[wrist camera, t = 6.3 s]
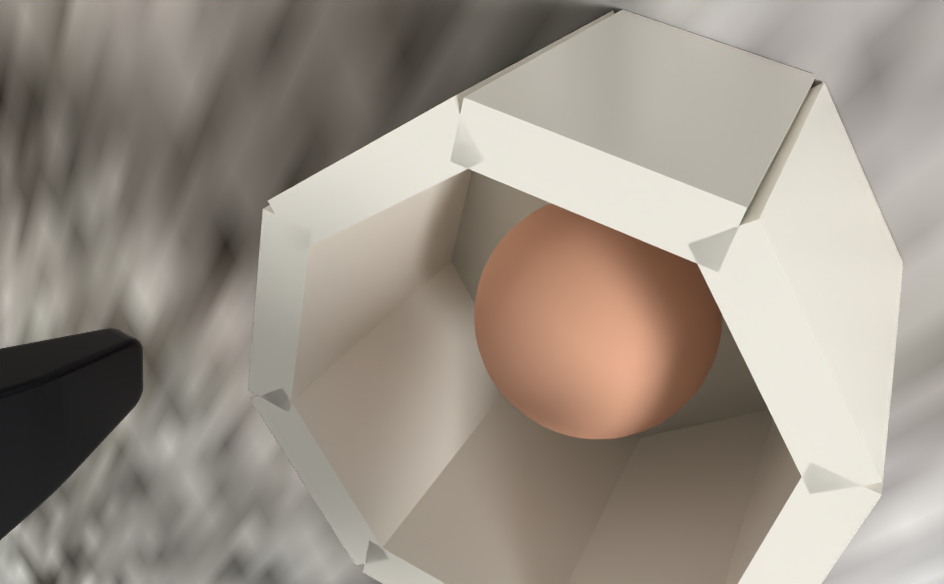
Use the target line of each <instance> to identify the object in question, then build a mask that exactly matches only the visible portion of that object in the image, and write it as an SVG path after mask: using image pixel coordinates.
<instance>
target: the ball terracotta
mask: <svg viewBox="0 0 944 584" xmlns="http://www.w3.org/2000/svg"><path fill="white" fill-rule="evenodd" d="M474 324H475V334H476V340H477V344H478V348H479V351H480V354H481V357H482V360H483V363H484V365H485V367H486V370H487V372H488V374H489V376H490V377H491V379H492V380H493V382H494V384H495V385H496V387H497V388H498V389H499V391H500V392H501V393H502V394H503V396H504V397H505V398H506V399H507V400H508V401H509V402H510V403H511V404H512V405H513V406H514V407H515V408H517V409H518V410H519V411H520V412H521V413H523V414H524V415H525V416H527V417H528V418H530V419H531V420H533V421H534V422H536V423H538V424H540V425H542V426H543V427H545V428H548V429H550V430H552V431H555V432H557V433H561V434H564V435H567V436H571V437H577V438H583V439H614V438H621V437H626V436H629V435H633V434H636V433H639V432H642V431H645V430H648V429H650V428H652V427H654V426H656V425H658V424H660V423H661V422H663V421H664V420H666V419H667V418H669V417H670V416H672V415H674V414H675V413H676V412H677V411H679V410H680V409H681V408H682V407H683V406H684V405H685V404H686V403H687V402H688V401H689V400H690V399H691V398H692V397H693V395H694V394H695V393H696V392H697V391H698V389H699V388H700V387H701V385H702V383H703V381H704V380H705V378H706V376H707V374H708V373H709V371H710V369H711V367H712V365H713V362H714V359H715V357H716V354H717V350H718V347H719V342H720V337H721V332H722V313H721V311H720V309H719V307H718V305H717V303H716V301H715V299H714V297H713V295H712V293H711V291H710V289H709V287H708V285H707V283H706V280H705V278H704V276H703V274H702V272H701V270H700V268H699V266H698V264H697V263H695V262H692V261H690V260H687V259H685V258H683V257H680V256H678V255H675V254H673V253H670V252H668V251H666V250H663V249H661V248H658V247H656V246H654V245H651V244H649V243H646V242H644V241H641V240H639V239H637V238H634V237H632V236H629V235H627V234H625V233H622V232H620V231H617V230H615V229H612V228H610V227H608V226H605V225H603V224H600V223H598V222H596V221H593V220H591V219H588V218H586V217H584V216H581V215H579V214H576V213H574V212H571V211H569V210H567V209H564V208H562V207H559V206H557V205H555V204H552V203H550V204H547V205H545V206H543V207H541V208H539V209H537V210H535V211H534V212H532V213H531V214H529V215H528V216H527V217H525V218H524V219H523V220H521V221H520V222H518V223H517V224H516V225H515V226H514V227H513V228H512V229H511V230H510V231H509V232H508V233H507V234H506V235H505V236H504V237H503V238H502V240H501V241H500V242H499V244H498V245H497V246H496V248H495V249H494V250H493V252H492V254H491V256H490V258H489V260H488V261H487V263H486V265H485V267H484V270H483V272H482V275H481V278H480V281H479V284H478V289H477V294H476V299H475V308H474Z"/></svg>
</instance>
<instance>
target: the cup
mask: <svg viewBox="0 0 944 584" xmlns="http://www.w3.org/2000/svg"><path fill="white" fill-rule="evenodd" d="M815 77H816V75H814V74H811V73H808V72H806V71H803V70H800V69H797V68H794V67H791V66H788V65H785V64H782V63H779V62H776V61H773V60H770V59H767V58H764V57H761V56H758V55H755V54H752V53H749V52H747V51H744V50H741V49H738V48H735V47H732V46H729V45H726V44H723V43H720V42H717V41H714V40H711V39H708V38H705V37H702V36H699V35H696V34H693V33H691V32H688V31H685V30H682V29H679V28H676V27H673V26H670V25H667V24H664V23H661V22H658V21H655V20H652V19H649V18H646V17H643V16H640V15H637V14H634V13H632V12H629V11H626V10H621V11H619V12H617V13H614V11H611V12H609V13H607V14H606V15H604V16H602V17H600V18H598V19H596V20H594V21H593V22H591V23H589V24H587V25H585V26H583V27H581V28H580V29H578V30H576V31H574V32H572V33H570V34H568V35H567V36H565V37H563V38H561V39H559V40H557V41H555V42H554V43H552V44H550V45H548V46H546V47H544V48H543V49H541V50H539V51H537V52H535V53H533V54H531V55H530V56H528V57H526V58H524V59H522V60H520V61H518V62H517V63H515V64H513V65H511V66H509V67H507V68H505V69H504V70H502V71H500V72H498V73H496V74H494V75H493V76H491V77H489V78H487V79H485V80H483V81H481V82H480V83H478V84H476V85H474V86H472V87H470V88H468V89H467V90H465V91H463V92H461V93H459V94H457V95H455V96H454V97H452V98H450V99H448V100H446V101H445V102H443V103H441V104H439V105H437V106H436V107H434V108H432V109H430V110H429V111H427V112H425V113H423V114H421V115H420V116H418V117H416V118H414V119H412V120H411V121H409V122H407V123H405V124H404V125H402V126H400V127H398V128H396V129H395V130H393V131H391V132H389V133H387V134H386V135H384V136H382V137H380V138H379V139H377V140H375V141H373V142H371V143H370V144H368V145H366V146H364V147H362V148H361V149H359V150H357V151H355V152H354V153H352V154H350V155H348V156H346V157H345V158H343V159H341V160H339V161H338V162H336V163H334V164H332V165H330V166H329V167H327V168H325V169H323V170H321V171H320V172H318V173H316V174H314V175H313V176H311V177H309V178H307V179H305V180H304V181H302V182H300V183H298V184H296V185H295V186H293V187H291V188H289V189H288V190H286V191H284V192H282V193H280V194H279V195H277V196H275V197H273V198H271V199H270V200H268V203H269V204H270V205H269V206H267V207H265V208H263V213H262V225H261V237H260V249H259V261H258V273H257V285H256V297H255V309H254V321H253V333H252V346H251V358H250V370H249V382H248V391H250V392H252V393H254V394H256V395H255V396H254V397H253V398H251V401H252V403H253V404H254V406H255V407H256V409H257V411H258V412H259V414H260V415H261V417H262V418H263V420H264V422H265V423H266V425H267V426H268V428H269V429H270V431H271V433H272V434H273V436H274V437H275V439H276V441H277V442H278V444H279V445H280V447H281V448H282V450H283V452H284V453H285V455H286V456H287V458H288V460H289V461H290V463H291V464H292V466H293V467H294V469H295V471H296V472H297V474H298V475H299V477H300V479H301V480H302V482H303V483H304V485H305V486H306V488H307V490H308V491H309V493H310V494H311V496H312V498H313V499H314V501H315V502H316V504H317V505H318V507H319V509H320V510H321V512H322V513H323V515H324V517H325V518H326V520H327V521H328V523H329V524H330V526H331V528H332V529H333V531H334V532H335V534H336V536H337V537H338V539H339V540H340V542H341V543H342V545H343V547H344V548H345V550H346V551H347V553H348V555H349V556H350V558H351V559H352V561H353V562H354V564H355V565H360V564H364V568H363V573H365V574H367V575H368V576H370V577H372V578H373V579H375V580H377V581H379V582H380V583H382V584H821V583H822V582H823V580H824V579H825V577H826V576H827V575H828V573H829V572H830V570H831V569H832V567H833V566H834V564H835V563H836V561H837V560H838V558H839V557H840V555H841V554H842V553H843V551H844V550H845V548H846V547H847V545H848V544H849V542H850V541H851V539H852V538H853V536H854V535H855V533H856V532H857V531H858V529H859V528H860V526H861V525H862V523H863V522H864V520H865V519H866V517H867V516H868V514H869V513H870V511H871V510H872V509H873V507H874V506H875V504H876V503H877V501H878V500H879V498H880V497H881V495H882V488H883V477H884V467H885V456H886V445H887V435H888V424H889V413H890V403H891V392H892V381H893V371H894V360H895V349H896V339H897V328H898V318H899V307H900V296H901V286H902V275H903V273H902V272H903V262H902V260H901V257H900V255H899V253H898V251H897V248H896V246H895V244H894V241H893V239H892V237H891V234H890V232H889V230H888V228H887V225H886V223H885V221H884V218H883V216H882V214H881V211H880V209H879V207H878V205H877V202H876V200H875V198H874V195H873V193H872V191H871V188H870V186H869V184H868V182H867V179H866V177H865V175H864V172H863V170H862V168H861V165H860V163H859V161H858V159H857V156H856V154H855V152H854V149H853V147H852V145H851V142H850V140H849V138H848V136H847V133H846V131H845V129H844V126H843V124H842V122H841V119H840V117H839V115H838V113H837V110H836V108H835V106H834V103H833V101H832V99H831V96H830V94H829V92H828V90H827V87H826V85H825V83H822V84H819V85H817V86H815V87H812V88H811V86H812V84H813V82H814V80H815ZM550 203H552V204H555V205H557V206H559V207H562V208H564V209H567V210H569V211H571V212H574V213H576V214H579V215H581V216H584V217H586V218H588V219H591V220H593V221H596V222H598V223H600V224H603V225H605V226H608V227H610V228H612V229H615V230H617V231H620V232H622V233H625V234H627V235H629V236H632V237H634V238H637V239H639V240H641V241H644V242H646V243H649V244H651V245H654V246H656V247H658V248H661V249H663V250H666V251H668V252H670V253H673V254H675V255H678V256H680V257H683V258H685V259H687V260H690V261H692V262H695V263H697V264H698V266H699V268H700V270H701V272H702V274H703V276H704V278H705V280H706V283H707V285H708V287H709V289H710V291H711V293H712V295H713V297H714V299H715V301H716V303H717V305H718V307H719V309H720V311H721V313H722V332H721V337H720V342H719V347H718V350H717V354H716V357H715V359H714V362H713V365H712V367H711V369H710V371H709V373H708V374H707V376H706V378H705V380H704V381H703V383H702V385H701V387H700V388H699V389H698V391H697V392H696V393H695V394H694V395H693V397H692V398H691V399H690V400H689V401H688V402H687V403H686V404H685V405H684V406H683V407H682V408H681V409H680V410H679V411H677V412H676V413H675V414H674V415H672V416H670V417H669V418H667V419H666V420H664V421H663V422H661V423H660V424H658V425H656V426H654V427H652V428H650V429H648V430H645V431H642V432H639V433H636V434H633V435H629V436H626V437H621V438H614V439H583V438H577V437H571V436H567V435H564V434H561V433H557V432H555V431H552V430H550V429H548V428H545V427H543V426H542V425H540V424H538V423H536V422H534V421H533V420H531V419H530V418H528V417H527V416H525V415H524V414H523V413H521V412H520V411H519V410H518V409H517V408H515V407H514V406H513V405H512V404H511V403H510V402H509V401H508V400H507V399H506V398H505V397H504V396H503V394H502V393H501V392H500V391H499V389H498V388H497V387H496V385H495V384H494V382H493V380H492V379H491V377H490V376H489V374H488V372H487V370H486V367H485V365H484V363H483V360H482V357H481V354H480V351H479V348H478V344H477V340H476V334H475V324H474V308H475V299H476V294H477V289H478V284H479V281H480V278H481V275H482V272H483V270H484V267H485V265H486V263H487V261H488V260H489V258H490V256H491V254H492V252H493V250H494V249H495V248H496V246H497V245H498V244H499V242H500V241H501V240H502V238H503V237H504V236H505V235H506V234H507V233H508V232H509V231H510V230H511V229H512V228H513V227H514V226H515V225H516V224H517V223H518V222H520V221H521V220H523V219H524V218H525V217H527V216H528V215H529V214H531V213H532V212H534V211H535V210H537V209H539V208H541V207H543V206H545V205H547V204H550Z"/></svg>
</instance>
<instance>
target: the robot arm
mask: <svg viewBox="0 0 944 584" xmlns="http://www.w3.org/2000/svg"><path fill="white" fill-rule="evenodd" d="M142 392H143V347H142V345H141V343H140V341H138V340H137V339H136V338H134V337H132V336H130V335H128V334H126V333H124V332H123V331H121V330H118V329H114V328H109V329H102V330H97V331H92V332H86V333H81V334H76V335H70V336H65V337H60V338H55V339H49V340H44V341H39V342H33V343H28V344H23V345H18V346H12V347H7V348H2V349H0V540H1V539H2V538H3V537H5V536H6V535H7V534H8V533H9V532H10V531H11V530H12V529H14V528H15V527H16V526H17V525H18V524H19V523H20V522H22V521H23V520H24V519H25V518H26V517H27V516H28V515H30V514H31V513H32V512H33V511H34V510H35V509H36V508H37V507H39V506H40V505H41V504H42V503H43V502H44V501H45V500H46V499H47V498H48V497H49V496H51V495H52V494H53V493H54V492H55V491H56V490H57V489H58V488H59V487H60V486H61V485H62V484H63V483H64V482H65V481H66V480H67V479H68V478H69V477H70V476H71V475H72V473H73V472H74V471H75V470H76V469H77V468H78V467H79V466H80V465H81V464H82V463H83V462H84V461H85V460H86V458H87V457H88V456H89V455H90V454H91V453H92V452H93V451H94V450H95V449H96V448H97V447H98V446H99V445H100V443H101V442H102V441H103V440H104V439H105V438H106V437H107V436H108V435H109V434H110V433H111V432H112V431H113V430H114V428H115V427H116V426H117V425H118V424H119V423H120V422H121V421H122V420H123V419H124V418H125V417H126V416H127V414H128V413H129V412H130V411H131V410H132V409H133V408H134V407H135V406H136V404H137V403H138V401H139V399H140V397H141V395H142Z"/></svg>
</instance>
